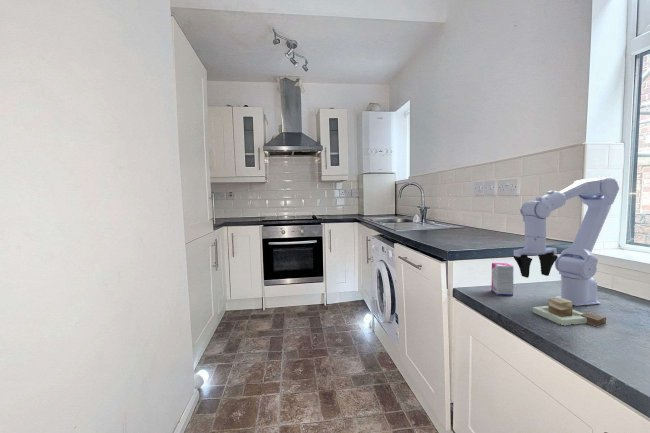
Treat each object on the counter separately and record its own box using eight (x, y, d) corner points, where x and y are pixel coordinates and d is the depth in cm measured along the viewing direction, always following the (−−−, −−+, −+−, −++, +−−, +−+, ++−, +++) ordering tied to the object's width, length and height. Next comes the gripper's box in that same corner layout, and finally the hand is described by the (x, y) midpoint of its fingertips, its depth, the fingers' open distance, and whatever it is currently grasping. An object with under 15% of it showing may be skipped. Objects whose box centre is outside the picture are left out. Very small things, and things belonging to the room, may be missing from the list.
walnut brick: (588, 318, 83) (588, 311, 83) (605, 324, 79) (606, 317, 79) (580, 321, 82) (580, 314, 81) (598, 327, 78) (598, 320, 78)
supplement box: (514, 296, 104) (513, 266, 104) (496, 295, 105) (496, 266, 105) (507, 291, 110) (507, 262, 109) (490, 290, 111) (490, 262, 110)
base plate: (560, 309, 90) (560, 304, 90) (593, 322, 80) (593, 317, 80) (532, 312, 89) (532, 307, 89) (562, 325, 79) (562, 320, 79)
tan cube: (559, 310, 88) (559, 297, 87) (572, 315, 84) (572, 301, 83) (548, 312, 87) (548, 298, 87) (560, 317, 83) (561, 302, 83)
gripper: (543, 233, 98) (543, 271, 98) (506, 236, 96) (506, 274, 97) (562, 236, 91) (562, 276, 91) (523, 238, 89) (523, 280, 90)
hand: (535, 276), depth 93 cm, fingers open, 7 cm apart
